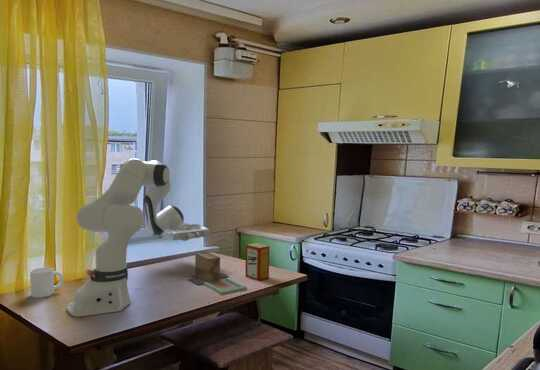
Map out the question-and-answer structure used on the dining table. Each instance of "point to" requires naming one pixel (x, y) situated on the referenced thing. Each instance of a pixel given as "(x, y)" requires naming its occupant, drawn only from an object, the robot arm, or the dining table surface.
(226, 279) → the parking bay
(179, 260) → the dining table surface
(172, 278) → the dining table surface
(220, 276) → the trap mat right
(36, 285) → the mug
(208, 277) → the walnut block
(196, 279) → the trap mat left
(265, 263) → the baking soda box
